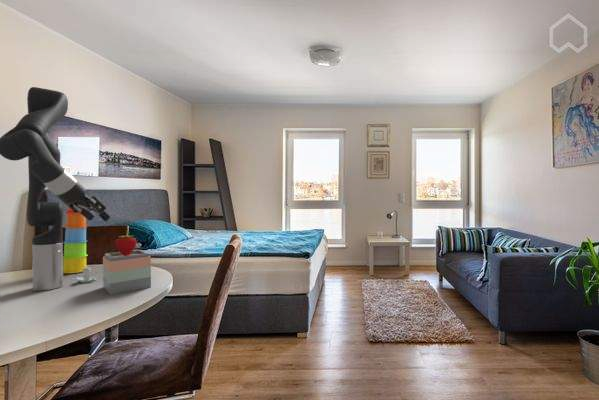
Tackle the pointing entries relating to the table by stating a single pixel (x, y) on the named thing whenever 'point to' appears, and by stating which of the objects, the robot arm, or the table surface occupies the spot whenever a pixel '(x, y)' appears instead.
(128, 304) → the table surface
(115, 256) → the pastel striped block
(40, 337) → the table surface
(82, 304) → the table surface
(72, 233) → the stacking cups
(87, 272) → the pacifier
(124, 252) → the strawberry
